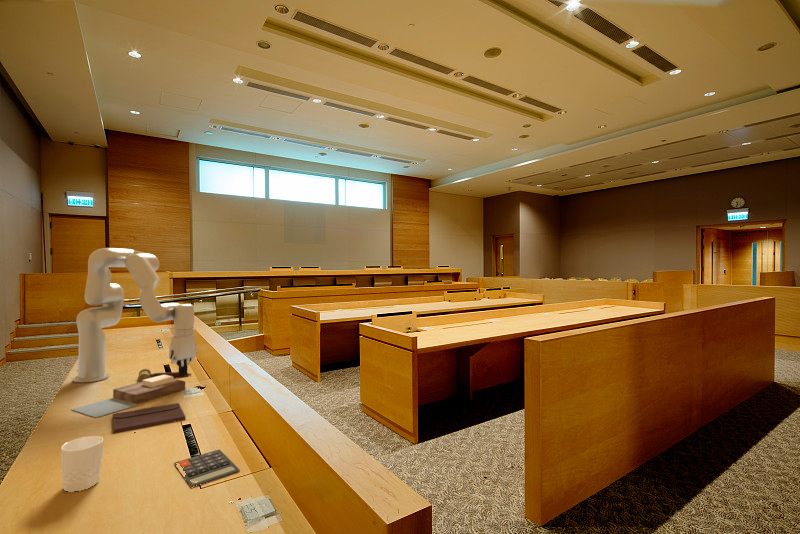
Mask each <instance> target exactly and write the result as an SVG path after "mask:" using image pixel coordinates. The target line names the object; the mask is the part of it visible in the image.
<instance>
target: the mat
mask: <svg viewBox="0 0 800 534" xmlns="http://www.w3.org/2000/svg"><path fill="white" fill-rule="evenodd" d="M137 406H139V404H135V403H131V402H128V401H124V400H121V399H117V398H113V397H111V398H108V399H107V398H106V399H103V400H101V401H96V402H93V403H92V402H91V403H90V404H85V405H83V406H82V405H81V406H78V407H75V408H71V411H73V412H75V413H79V414H81V415H85V416H88V417H92V418H95V419H97V418H100V417H104V416H108V415H110V414H115V413H119V412H120V411H121V412H122V411H123V410H127V409H131V408H135V407H137Z"/></svg>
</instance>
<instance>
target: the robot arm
mask: <svg viewBox="0 0 800 534" xmlns="http://www.w3.org/2000/svg"><path fill="white" fill-rule="evenodd" d="M110 268H126V269H127V270H128V272H129V273H130V275H131V277H132V278H133V280H134V281H135V283H136V285H137V286H138V288H139V289H140V293H139V302H140V303H139V304H140V306H141V308H142V310H143V312H144V313H145V314H146V316H147V317H148V318H149V319H150V320H151V321H152V322H155V323H161V322H166V321H174V322H173V323H174V325H173V327H174V328H173V336H172V337H171V339H170V343H169V351H168V352H169V353H168V359H169V360H170V364H173V365H174V364H175V365H177V366H178V372H179V375H182V376H184V375H187V373H188V366H189V364H190V362H191V361H193V360H195V359H196V355H197V340H196V336H195V334H194V332H196V331H197V330H196V328H195V306H194V305H193V304H190V303H178V302H165V303H160V301H159V300H158V298H157V297H156V294H155V289H156V288H158V287H159V286H160V285H161V283H162V280H161V278H160V276H159V275H158V274H157V272H156V271H158V269H159V268H160V261H159V258H158V257H157V256H156V255H154V254H152V253H148V252H144V251H139V250H135V249H131V248H117V247H103V248H98V249H95V250H94V251H93V252H91V253H90V254H89V257H88V261H87V276H86V284H85V290H84V301H85V303H86V304H88V305H90V306H96V307H90V308H89V307H88V308H85V309H83V310H81V311H80V312H79V313H78V314H77V316H76V319H75V321H76V327H77V331H78V358H77V359H78V360H77V361H78V363H77V369H76V372H77V375H76V376H74V377H73V380H72V381H73V382H74V383H80V384H81V383H94V382H99V381H103V380H106V379H108V378H109V377H110V373H109V372H106V356H107V355H106V354H107V353H106V348H107V346H106V345H107V342H106V341H107V339H106V338H107V337H106V333H105V332H104V331H103V329H104V328H109V327H113V326H115V325H117V324H119V322H120V320H121V318H122V314H123V307H124V303H125V302H124V301H125V291H124V289H123V287H122V286H121V285H120V284H119V283H114V282H113V283H111V281H112V272H111V269H110ZM100 305H101V306H100Z"/></svg>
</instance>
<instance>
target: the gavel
mask: <svg viewBox="0 0 800 534" xmlns="http://www.w3.org/2000/svg"><path fill="white" fill-rule="evenodd" d="M160 375H168V376H173V379H176V377H178V378H185V377H189V376H192V373H189V372H187V375H184V376H182V375H179V371H174V372H173V371H171V372H155V373H154V372H153V373H151V370H150V369H149V368H142V369H141V370H140V371H139V372H138V377H137V380H136V381H137V383H140V382H142V380H144V379H148V378H152V377H156V376H160Z"/></svg>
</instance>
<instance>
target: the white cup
mask: <svg viewBox="0 0 800 534" xmlns="http://www.w3.org/2000/svg"><path fill="white" fill-rule="evenodd" d="M103 452H104V438H103V437H102V436H100V435H99V436H98V435H90V436H89V435H88V436H82V437H78V438H75V439H72V440H69V441H67V442H65V443H64V444H62V445H61V447H60V453H61V454H60V455H61V456H60V458H61V459H60V460H61V477H62V490H63V489H64V490H65V491H68V492H67V493H75V492H74V491H79V492H82V491H81V490H83V491H85V490H84V489H86V490H89V489H91V488H92V487H91V486H93V487H94V485H95V484H96V483H97V482H98V483H99V482H100V480H101V479H100V478H101V470H102V460H103ZM98 483H97V484H98ZM97 484H96V485H97ZM96 485H95V486H96ZM90 487H91V488H90ZM88 488H89V489H88ZM64 490H63V491H64ZM65 491H64V492H65Z"/></svg>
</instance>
